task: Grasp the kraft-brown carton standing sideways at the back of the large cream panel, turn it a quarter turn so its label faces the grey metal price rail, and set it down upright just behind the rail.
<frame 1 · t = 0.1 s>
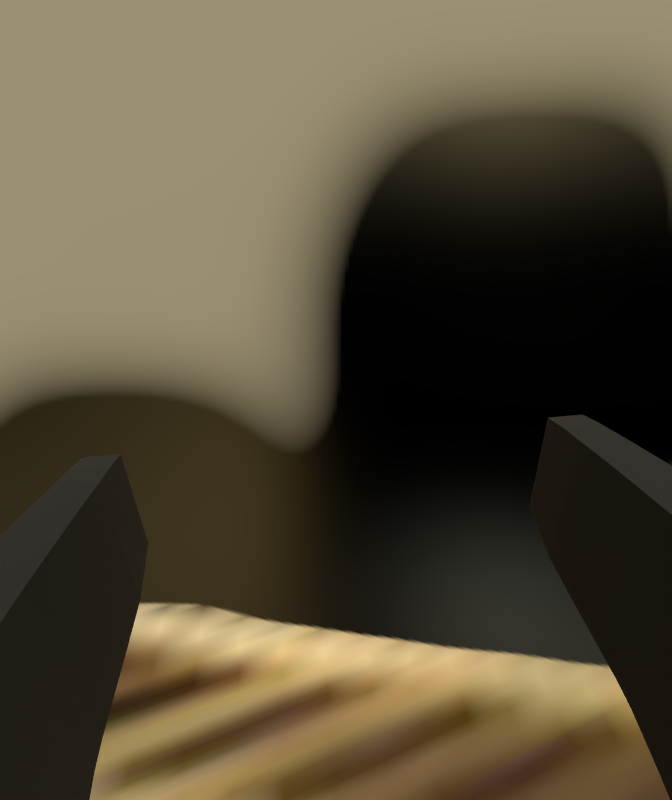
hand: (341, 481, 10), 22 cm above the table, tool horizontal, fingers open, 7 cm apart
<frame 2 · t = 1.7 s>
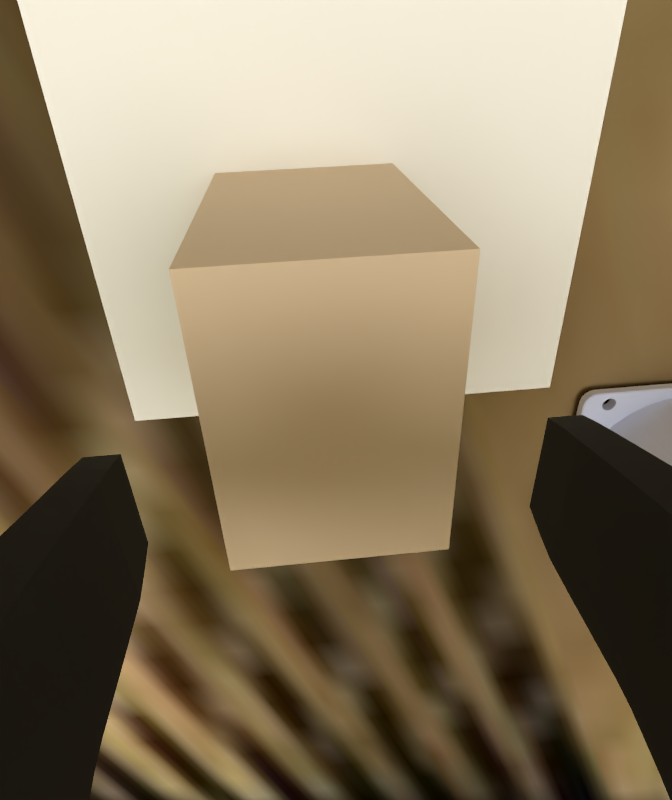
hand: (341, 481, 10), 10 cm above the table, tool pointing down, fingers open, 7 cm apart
large cream panel: (336, 124, 16), on the table
kraft carton: (311, 286, 17), point 1 cm above the table, touching large cream panel
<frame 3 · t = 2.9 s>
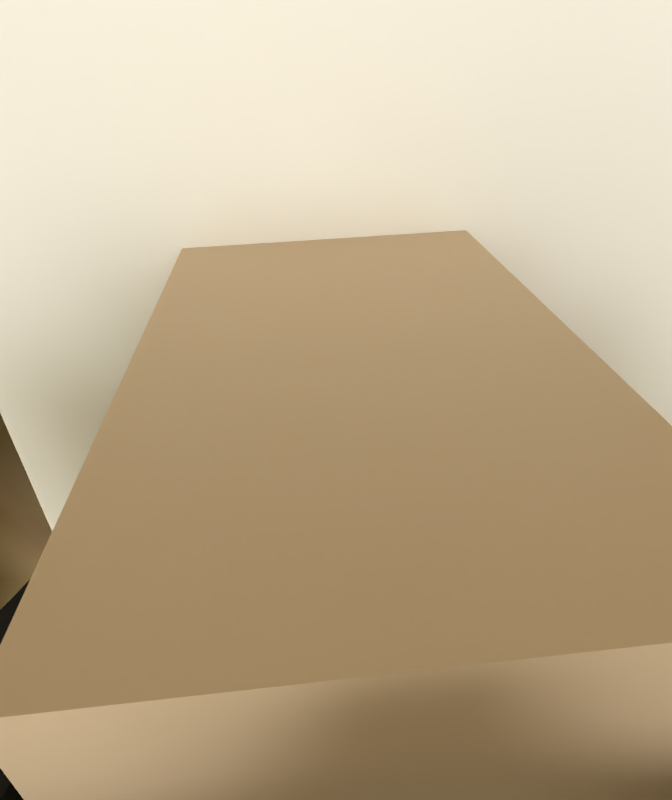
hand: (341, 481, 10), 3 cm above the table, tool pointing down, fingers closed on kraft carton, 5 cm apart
large cream panel: (371, 168, 10), on the table
kraft carton: (333, 406, 12), point 1 cm above the table, touching gripper
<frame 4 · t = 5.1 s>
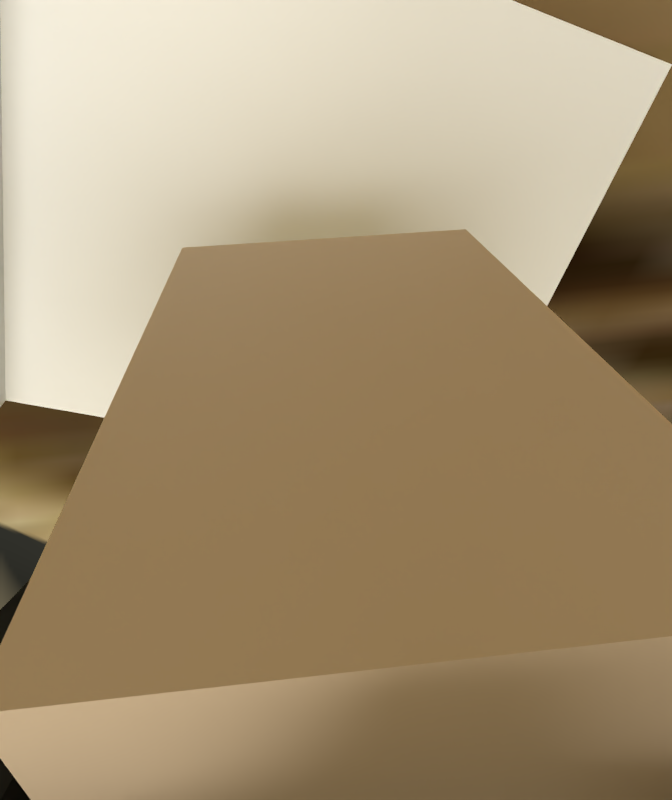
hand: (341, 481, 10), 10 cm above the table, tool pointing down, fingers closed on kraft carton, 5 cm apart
large cream panel: (284, 239, 17), on the table
kraft carton: (334, 404, 12), point 8 cm above the table, touching gripper
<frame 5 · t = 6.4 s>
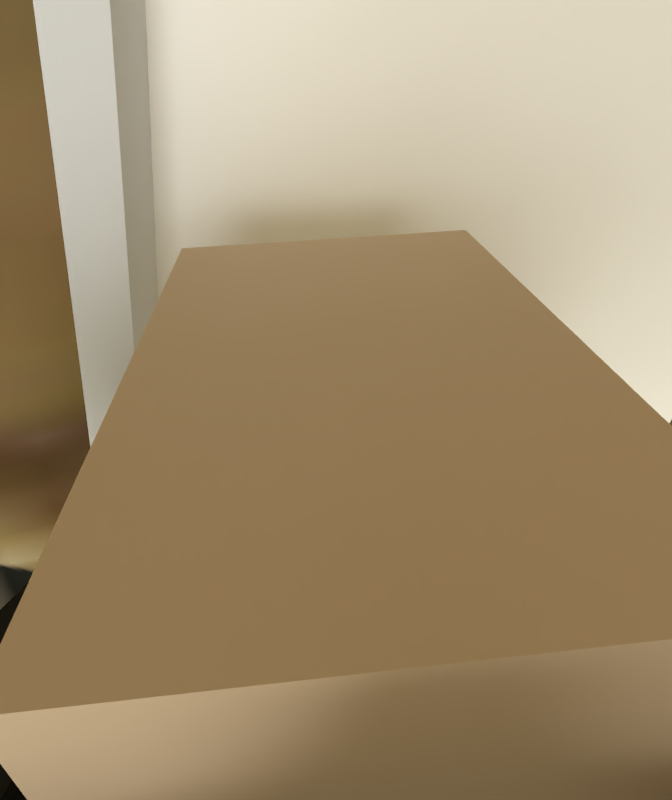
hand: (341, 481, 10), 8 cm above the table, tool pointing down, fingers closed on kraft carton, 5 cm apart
large cream panel: (438, 283, 16), on the table
kraft carton: (333, 405, 12), point 5 cm above the table, touching gripper
when the fingers open (4 cm above the table, at t = 7.6 s): kraft carton drops 1 cm, resting on large cream panel.
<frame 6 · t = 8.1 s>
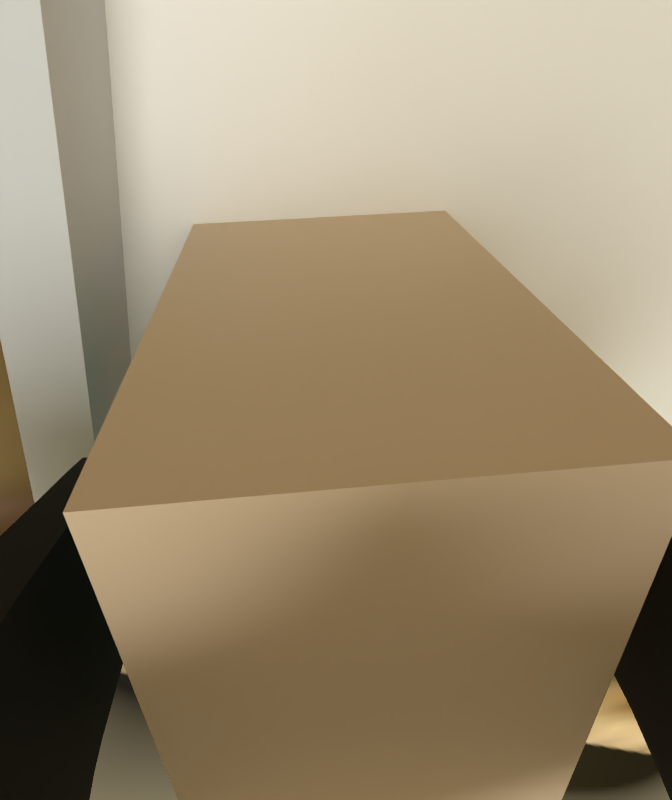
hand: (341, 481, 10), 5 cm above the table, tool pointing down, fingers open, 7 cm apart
large cream panel: (470, 332, 13), on the table
kraft carton: (327, 370, 13), point 1 cm above the table, touching large cream panel
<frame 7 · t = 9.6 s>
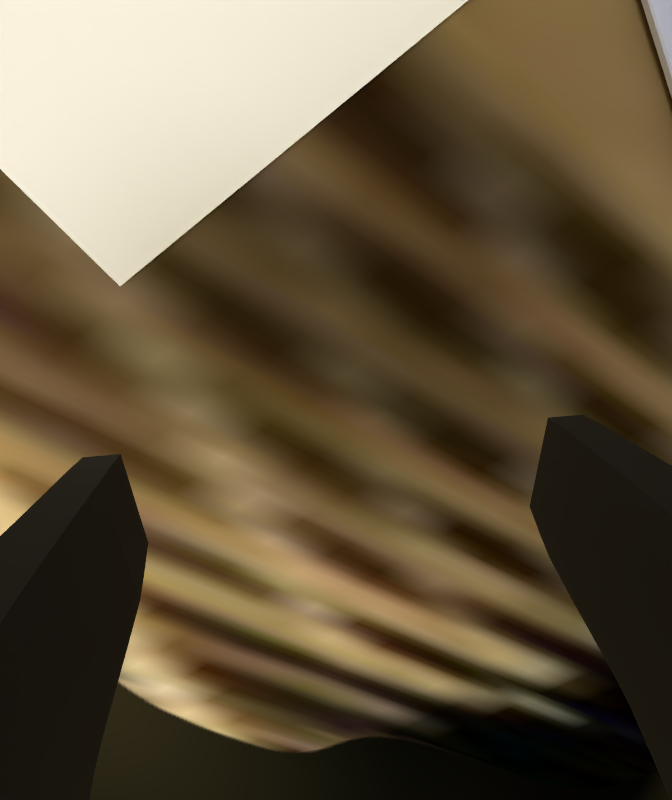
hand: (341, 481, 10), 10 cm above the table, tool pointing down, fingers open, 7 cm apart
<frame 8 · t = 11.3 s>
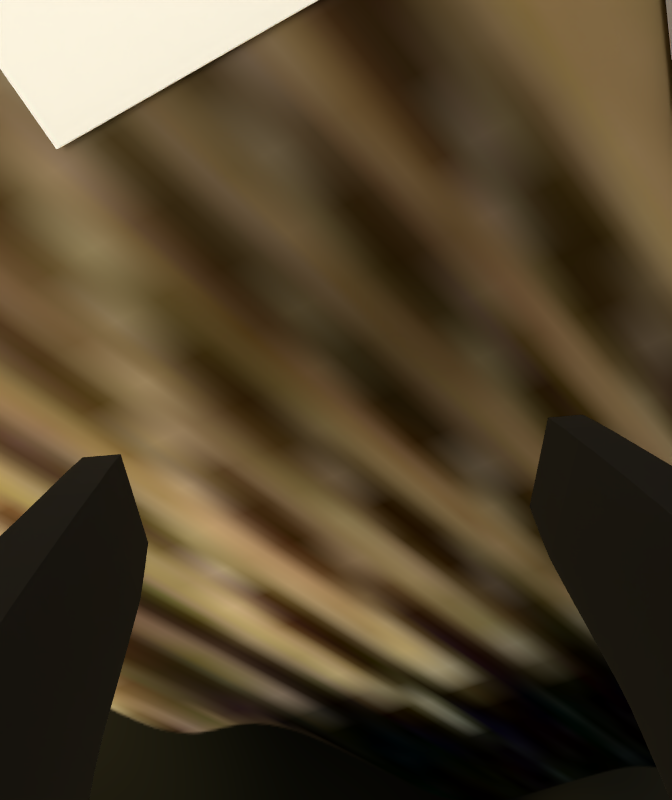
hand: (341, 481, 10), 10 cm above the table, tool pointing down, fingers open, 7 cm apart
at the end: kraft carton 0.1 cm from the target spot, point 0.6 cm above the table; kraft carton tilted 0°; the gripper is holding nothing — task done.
